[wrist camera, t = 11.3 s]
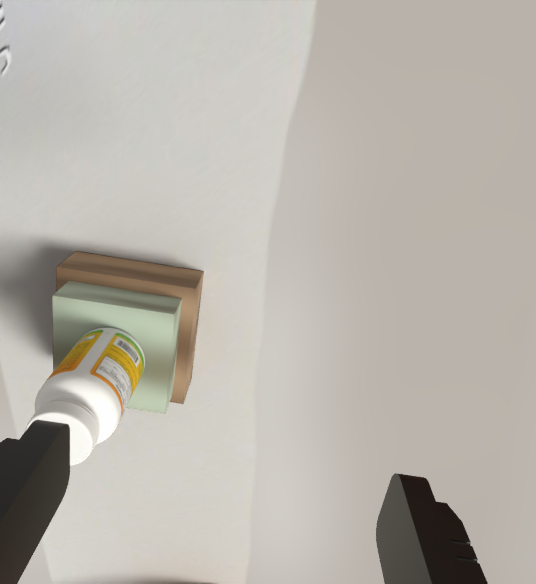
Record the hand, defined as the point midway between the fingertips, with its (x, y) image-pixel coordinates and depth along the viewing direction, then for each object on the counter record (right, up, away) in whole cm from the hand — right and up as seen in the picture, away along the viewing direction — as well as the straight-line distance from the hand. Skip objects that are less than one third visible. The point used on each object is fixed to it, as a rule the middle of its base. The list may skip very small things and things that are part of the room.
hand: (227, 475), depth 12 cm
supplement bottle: (-11, 0, +26) cm, 28 cm away
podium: (-11, +2, +32) cm, 34 cm away
